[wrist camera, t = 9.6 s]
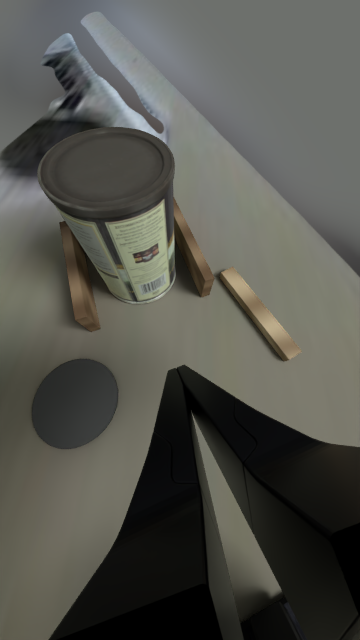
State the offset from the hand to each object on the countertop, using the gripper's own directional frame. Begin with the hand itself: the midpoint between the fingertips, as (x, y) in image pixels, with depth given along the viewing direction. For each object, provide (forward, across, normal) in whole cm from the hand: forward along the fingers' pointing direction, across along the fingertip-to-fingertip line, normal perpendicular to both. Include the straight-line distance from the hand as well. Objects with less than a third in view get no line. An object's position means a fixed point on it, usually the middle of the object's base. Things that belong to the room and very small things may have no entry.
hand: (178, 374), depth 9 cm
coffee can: (+21, 0, -2) cm, 21 cm away
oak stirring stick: (+14, -13, +6) cm, 20 cm away
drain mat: (+11, +11, +8) cm, 18 cm away
